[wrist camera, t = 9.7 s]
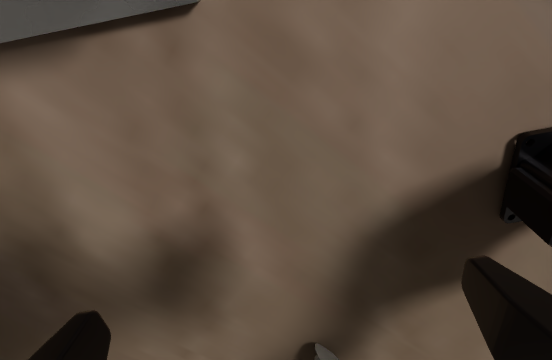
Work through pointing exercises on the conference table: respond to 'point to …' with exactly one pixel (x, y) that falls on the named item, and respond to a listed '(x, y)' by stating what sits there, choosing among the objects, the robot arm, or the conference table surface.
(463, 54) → the conference table surface
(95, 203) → the conference table surface
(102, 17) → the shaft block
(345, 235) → the conference table surface
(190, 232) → the conference table surface
